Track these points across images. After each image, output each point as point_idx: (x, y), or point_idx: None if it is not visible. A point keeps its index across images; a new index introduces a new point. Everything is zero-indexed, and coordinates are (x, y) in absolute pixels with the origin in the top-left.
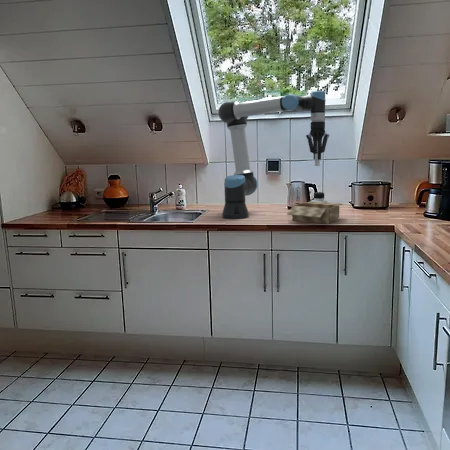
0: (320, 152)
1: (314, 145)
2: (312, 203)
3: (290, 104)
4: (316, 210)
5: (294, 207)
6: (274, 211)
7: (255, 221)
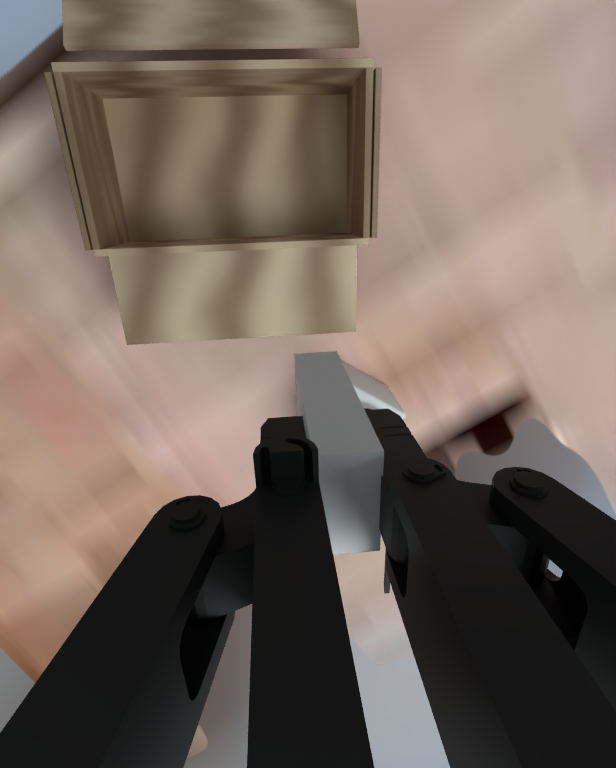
0: (242, 512)
1: (519, 671)
2: (299, 247)
3: None
4: (130, 13)
5: (336, 25)
6: (575, 306)
7: None
